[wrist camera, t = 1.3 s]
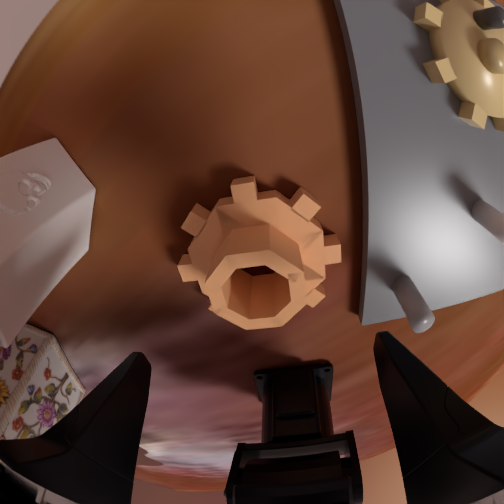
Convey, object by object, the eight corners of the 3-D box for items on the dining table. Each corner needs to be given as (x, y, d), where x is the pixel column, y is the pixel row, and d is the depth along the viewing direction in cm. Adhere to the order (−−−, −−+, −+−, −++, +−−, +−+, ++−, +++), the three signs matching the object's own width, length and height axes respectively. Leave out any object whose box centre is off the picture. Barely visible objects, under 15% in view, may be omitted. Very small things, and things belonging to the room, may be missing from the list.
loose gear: (336, 302, 17) (348, 344, 14) (205, 316, 18) (194, 358, 15) (331, 165, 13) (352, 187, 10) (163, 193, 14) (134, 221, 11)
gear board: (498, 282, 16) (524, 315, 12) (358, 315, 18) (374, 366, 14) (504, 13, 5) (545, 10, 1) (320, -37, 7) (339, -79, 3)
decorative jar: (-6, 305, 21) (-73, 408, 5) (55, 331, 21) (-17, 472, 6) (29, 365, 27) (-16, 455, 11) (88, 391, 27) (48, 502, 12)
